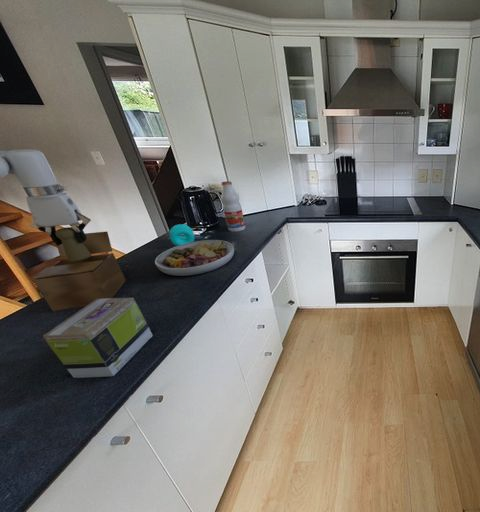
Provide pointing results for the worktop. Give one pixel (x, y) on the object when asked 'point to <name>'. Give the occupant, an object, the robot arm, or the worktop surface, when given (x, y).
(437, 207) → the worktop surface
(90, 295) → the carton
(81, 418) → the worktop surface
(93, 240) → the flap
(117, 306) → the tea box
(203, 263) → the bowl
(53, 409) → the worktop surface
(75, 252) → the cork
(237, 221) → the fruit juice
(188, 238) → the cyan donut
